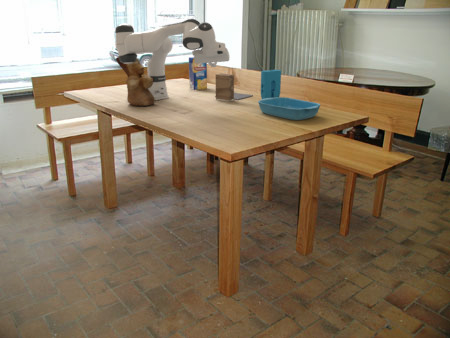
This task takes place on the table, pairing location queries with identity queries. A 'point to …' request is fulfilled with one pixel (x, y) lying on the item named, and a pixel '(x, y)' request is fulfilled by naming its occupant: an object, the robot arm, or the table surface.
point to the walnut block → (225, 87)
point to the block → (270, 83)
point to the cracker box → (197, 75)
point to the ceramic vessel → (137, 84)
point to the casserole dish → (289, 108)
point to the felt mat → (240, 96)
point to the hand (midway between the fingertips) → (213, 66)
